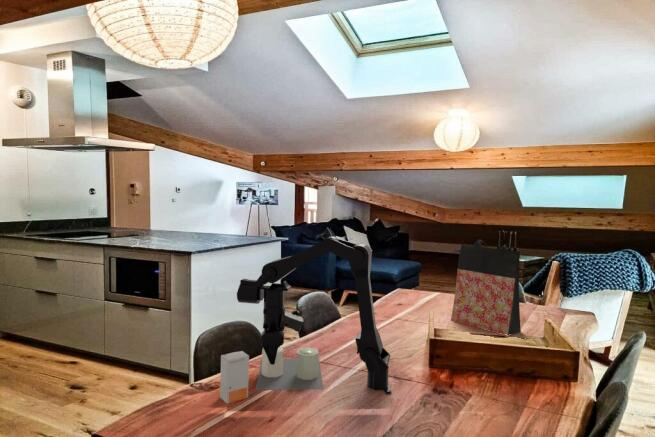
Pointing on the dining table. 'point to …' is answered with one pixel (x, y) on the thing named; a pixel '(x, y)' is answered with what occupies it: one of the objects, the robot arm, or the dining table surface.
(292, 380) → the mat
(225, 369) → the skincare box
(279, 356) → the cream cup
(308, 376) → the sage cup
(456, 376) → the dining table surface
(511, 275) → the gift bag
